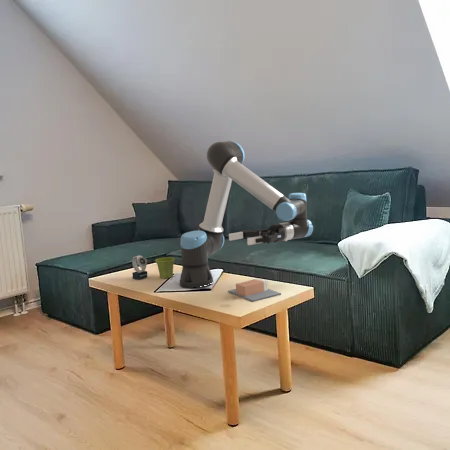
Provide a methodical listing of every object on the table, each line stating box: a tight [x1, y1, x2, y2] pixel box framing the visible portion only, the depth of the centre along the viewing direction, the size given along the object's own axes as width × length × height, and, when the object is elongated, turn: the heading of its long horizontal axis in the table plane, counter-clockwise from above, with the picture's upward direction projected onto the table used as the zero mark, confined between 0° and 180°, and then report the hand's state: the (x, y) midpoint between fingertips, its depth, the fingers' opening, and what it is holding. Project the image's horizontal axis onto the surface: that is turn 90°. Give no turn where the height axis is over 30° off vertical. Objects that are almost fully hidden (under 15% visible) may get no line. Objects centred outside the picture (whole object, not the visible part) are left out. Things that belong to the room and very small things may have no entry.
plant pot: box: [154, 256, 176, 279], centre depth 242 cm, size 9×9×9 cm
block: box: [235, 278, 269, 296], centre depth 207 cm, size 6×4×12 cm
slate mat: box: [228, 288, 282, 303], centre depth 207 cm, size 18×14×1 cm
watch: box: [131, 254, 148, 281], centre depth 242 cm, size 6×8×11 cm
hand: (238, 239), depth 200 cm, fingers open, 13 cm apart
